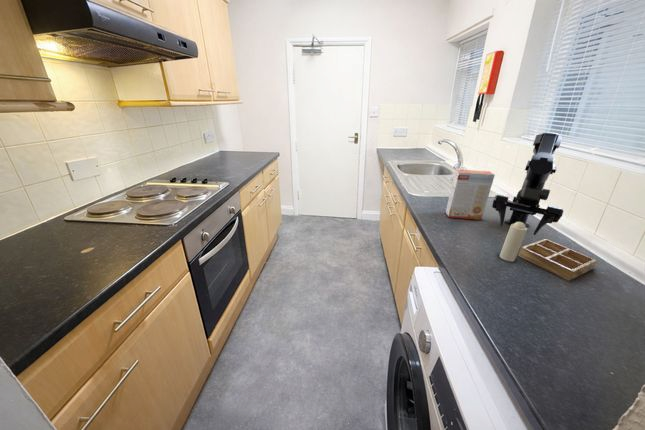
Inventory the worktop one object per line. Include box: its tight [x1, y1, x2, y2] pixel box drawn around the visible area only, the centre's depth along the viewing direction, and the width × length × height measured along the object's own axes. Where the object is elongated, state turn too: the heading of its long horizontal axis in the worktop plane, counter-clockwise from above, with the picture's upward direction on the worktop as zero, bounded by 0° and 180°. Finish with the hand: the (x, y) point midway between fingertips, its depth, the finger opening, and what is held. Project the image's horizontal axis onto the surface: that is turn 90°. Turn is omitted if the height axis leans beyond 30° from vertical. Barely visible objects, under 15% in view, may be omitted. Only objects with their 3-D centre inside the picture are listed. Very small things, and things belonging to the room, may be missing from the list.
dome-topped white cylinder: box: [499, 222, 528, 262], centre depth 87 cm, size 4×4×14 cm
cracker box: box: [445, 168, 496, 221], centre depth 115 cm, size 14×6×21 cm, turn 80°
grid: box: [517, 238, 598, 282], centre depth 88 cm, size 15×15×3 cm
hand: (517, 230), depth 87 cm, fingers open, 9 cm apart
